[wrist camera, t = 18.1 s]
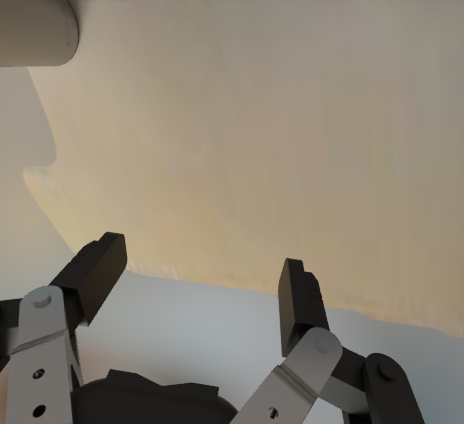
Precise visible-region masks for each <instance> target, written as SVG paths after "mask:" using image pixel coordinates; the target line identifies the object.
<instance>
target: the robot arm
mask: <svg viewBox="0 0 464 424" xmlns="http://www.w3.org/2000/svg"><path fill="white" fill-rule="evenodd" d="M77 44H78V27H77V23H76V19H75V16H74V13H73V11H72V9H71V7H70V5H69V3H68V1H67V0H0V67H23V66H31V67H32V66H59V65H62V64H65V63H66V62H68V61H69V60H70V59H71V58H72V56H73V55H74V54H75V51H76V48H77ZM126 264H127V252H126V244H125V237H124V235H123V234H119V233H113V232H106V233H105V234H104V235H103V236H102V237H101V238H100V239H99V241H95V240H94V241H92V242H91V243H89V244H87V245H85V246H84V247H83V248H82V249H81V250H80V251H79V252H78V253H77V255H76V256H75V257H74V258H73V259H72V260H71V262H69V263H68V264H67V265H66V266H65V268H64V269H63V270H62V271H61V272H60V273H59V274H58V275H57V276H56V277H55V278H54V280H53V281H52V282H51V283H50V284H49V285H48V286H43V287H39V288H37V289H35V290H33V291H31V292H29V293H28V294H27V295H26V296H25V297H24V298H21V299H12V300H3V301H0V372H1V371H2V370H3V368H4V367H5V366H6V364H7V363H8V362H9V360H10V367H9V381H8V396H7V410H6V423H5V424H302V422H303V421H304V419H305V418H306V416H307V414H308V413H309V411H310V409H311V408H312V406H313V404H314V402H315V401H316V399H317V397H319V398H321V399H323V400H325V401H327V402H329V403H331V404H332V405H334V406H336V407H338V408H340V409H342V414H343V419H344V424H425V423H424V420H423V417H422V415H421V412H420V410H419V407H418V404H417V402H416V399H415V397H414V394H413V391H412V389H411V386H410V384H409V381H408V378H407V376H406V374H405V372H404V370H403V369H402V368H401V366H400V365H399V364H398V363H397V362H395V361H394V360H393V359H392V358H390V357H388V356H386V355H384V354H380V353H372V354H370V355H369V356H368V357H367V358H365V357H363V356H361V355H358V354H357V353H354V352H352V351H350V350H348V349H346V348H344V347H343V346H342V345H341V343H340V341H339V340H338V338H337V337H336V336H335V335H334V334H333V333H331V332H330V329H329V325H328V321H327V317H326V312H325V308H324V304H323V300H322V296H321V292H320V287H319V283H318V281H317V279H316V278H315V276H314V275H313V274H312V273H311V272H304V267H303V262H302V260H297V259H290V258H286V260H285V263H284V266H283V270H282V273H281V277H280V280H279V287H278V297H279V313H280V329H281V346H282V357H286V359H285V360H284V362H283V363H282V364H281V365H280V366H279V365H277V366H276V367H275V368H274V369H273V370H272V371H271V373H270V374H269V375H268V376H267V378H266V379H265V380H264V381H263V383H262V384H261V385H260V386H259V388H258V389H257V390H256V391H255V393H254V394H253V395H252V396H251V397H250V399H249V400H248V401H247V402H246V404H245V405H244V406H243V408H242V409H241V410H240V411H239V412H238V411H237V410H236V408H235V407H233V405H231V404H230V403H229V402H228V401H227V400H225V399H224V398H222V397H220V396H218V390H219V387H215V386H209V385H203V384H197V383H185V384H176V385H168V386H161V385H159V384H156V383H155V382H152V381H151V380H149V379H147V378H145V377H143V376H141V375H139V374H136V373H131V372H125V371H118V370H113V369H110V371H109V373H108V375H107V377H106V378H103V379H98V380H95V381H92V382H89V383H88V384H85V385H84V380H83V376H82V371H81V364H80V357H79V350H78V342H77V335H76V331H75V329H76V328H77V327H78V325H81V326H87V327H88V326H89V325H90V323H91V322H92V320H93V319H94V317H95V315H96V314H97V312H98V311H99V309H100V307H101V306H102V304H103V303H104V301H105V300H106V298H107V296H108V295H109V293H110V292H111V290H112V288H113V287H114V285H115V284H116V282H117V281H118V279H119V278H120V276H121V274H122V273H123V271H124V269H125V267H126Z"/></svg>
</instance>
